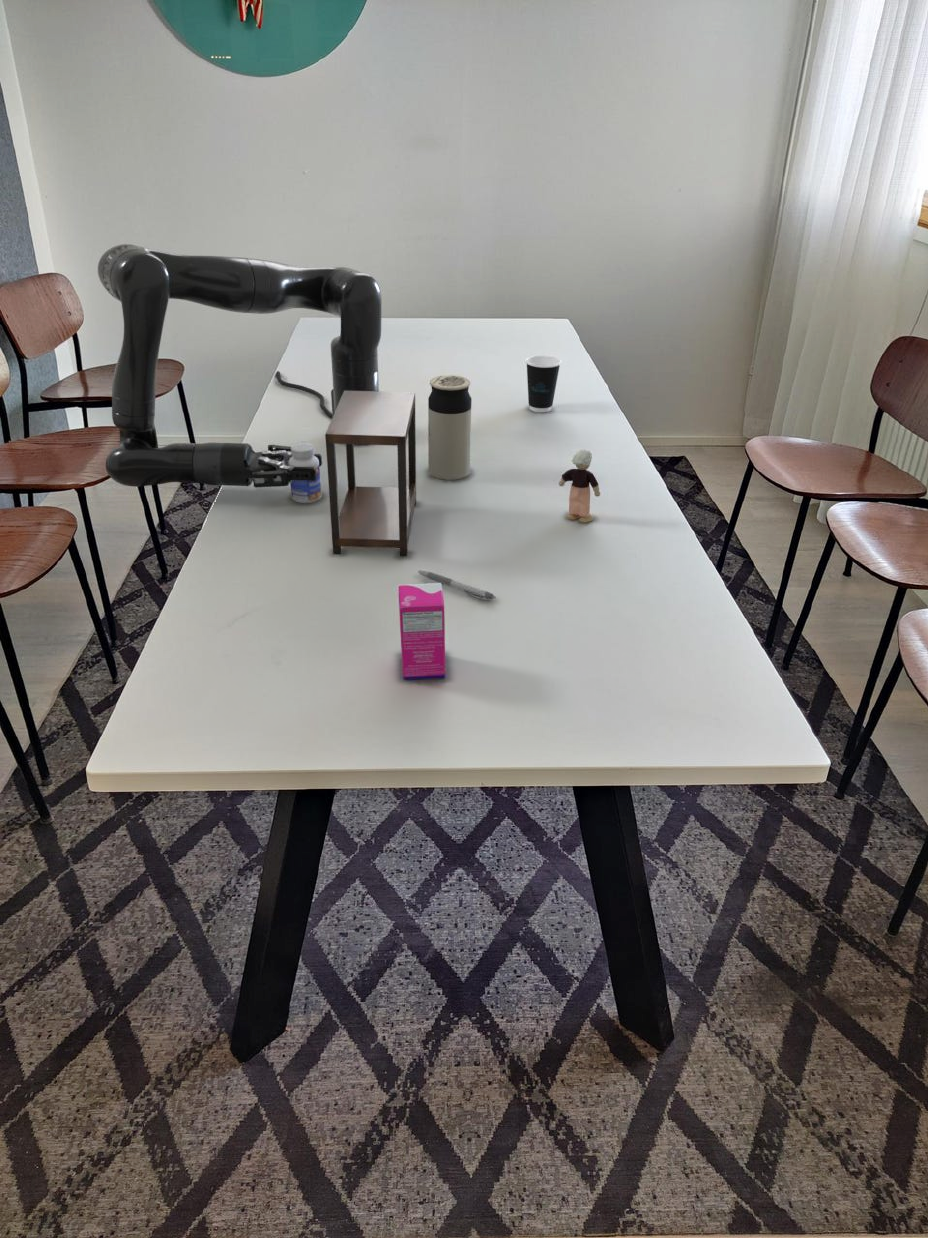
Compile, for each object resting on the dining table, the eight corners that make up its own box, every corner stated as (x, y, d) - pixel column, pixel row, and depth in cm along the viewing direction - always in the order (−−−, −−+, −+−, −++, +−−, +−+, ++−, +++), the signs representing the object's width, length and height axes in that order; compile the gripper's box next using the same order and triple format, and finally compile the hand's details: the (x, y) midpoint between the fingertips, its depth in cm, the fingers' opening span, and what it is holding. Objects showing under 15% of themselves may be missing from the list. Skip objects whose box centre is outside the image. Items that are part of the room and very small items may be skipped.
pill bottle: (315, 505, 162) (312, 454, 157) (287, 502, 163) (282, 451, 158) (325, 492, 167) (322, 442, 162) (297, 489, 168) (293, 439, 163)
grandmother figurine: (600, 516, 161) (608, 448, 154) (596, 525, 158) (603, 457, 151) (558, 509, 163) (563, 442, 156) (553, 518, 160) (558, 450, 153)
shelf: (333, 554, 147) (325, 434, 136) (349, 501, 164) (344, 390, 153) (407, 556, 147) (405, 436, 136) (416, 503, 164) (415, 392, 153)
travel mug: (476, 469, 177) (478, 378, 168) (459, 484, 171) (460, 390, 162) (439, 461, 180) (440, 371, 170) (421, 476, 174) (420, 383, 164)
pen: (493, 604, 136) (493, 596, 135) (416, 577, 142) (416, 569, 141) (496, 601, 136) (497, 593, 135) (419, 574, 142) (419, 567, 142)
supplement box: (399, 655, 124) (398, 582, 118) (443, 654, 124) (443, 581, 118) (401, 681, 119) (399, 606, 113) (446, 679, 119) (447, 605, 113)
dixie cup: (532, 416, 203) (535, 367, 197) (516, 405, 209) (519, 357, 203) (563, 412, 205) (567, 363, 199) (547, 401, 211) (551, 353, 205)
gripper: (210, 460, 154) (310, 463, 154) (231, 429, 166) (323, 432, 166) (216, 500, 158) (313, 503, 158) (236, 467, 170) (326, 470, 170)
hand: (318, 466), depth 162 cm, fingers closed on pill bottle, 5 cm apart
